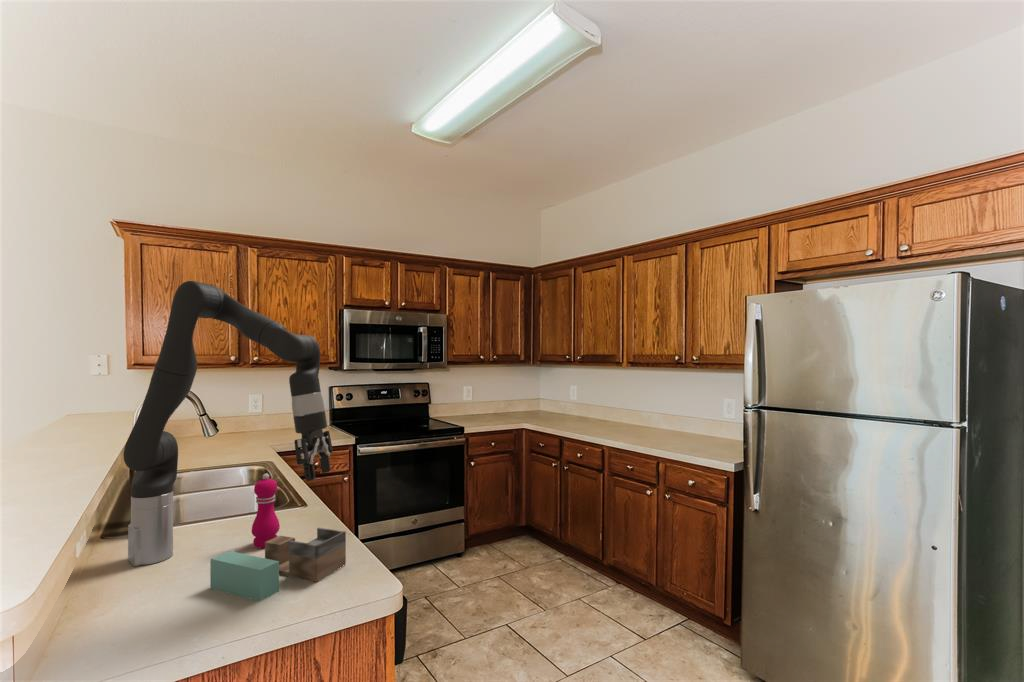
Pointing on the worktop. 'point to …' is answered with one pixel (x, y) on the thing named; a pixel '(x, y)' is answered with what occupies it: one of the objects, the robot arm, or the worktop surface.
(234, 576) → the teal rectangular block
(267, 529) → the pepper mill
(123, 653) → the worktop surface
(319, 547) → the bracket stand
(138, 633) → the worktop surface
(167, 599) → the worktop surface
